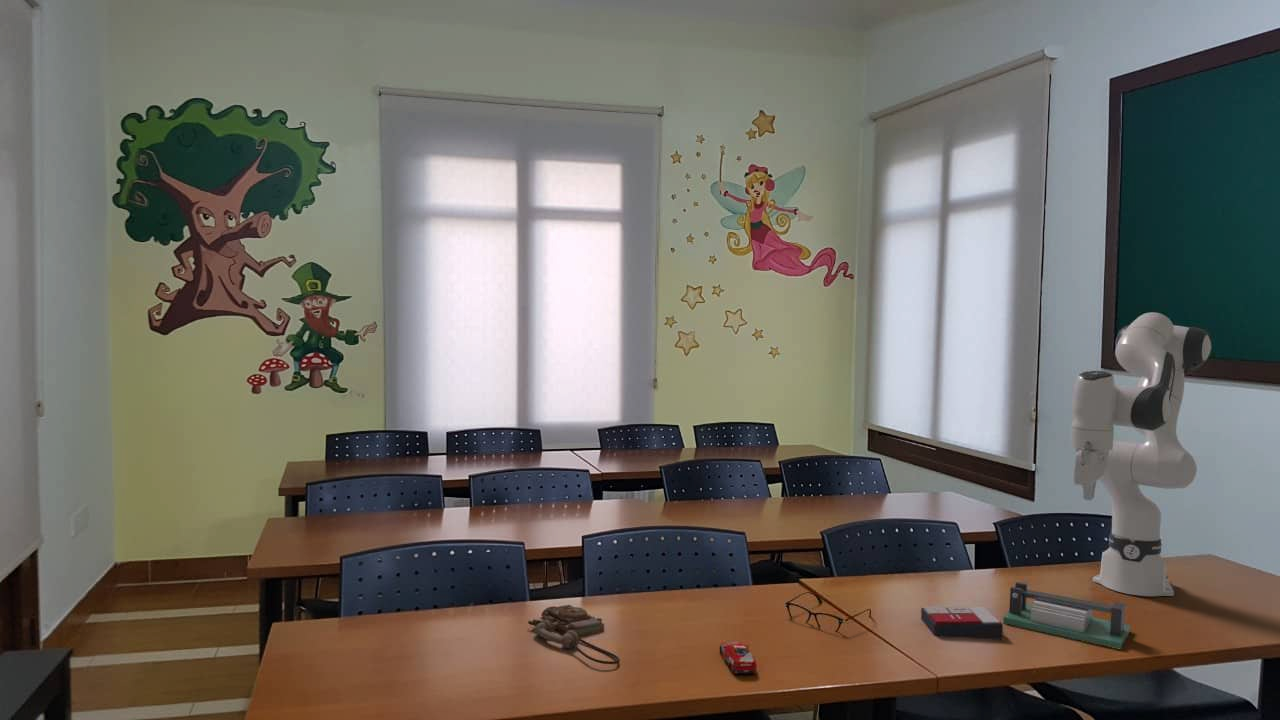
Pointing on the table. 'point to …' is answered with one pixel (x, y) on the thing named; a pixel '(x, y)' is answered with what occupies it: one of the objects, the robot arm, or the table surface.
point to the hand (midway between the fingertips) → (1088, 498)
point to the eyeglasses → (819, 613)
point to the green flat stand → (1066, 619)
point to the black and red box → (961, 622)
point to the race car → (738, 657)
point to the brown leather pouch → (570, 628)
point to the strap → (1067, 601)
